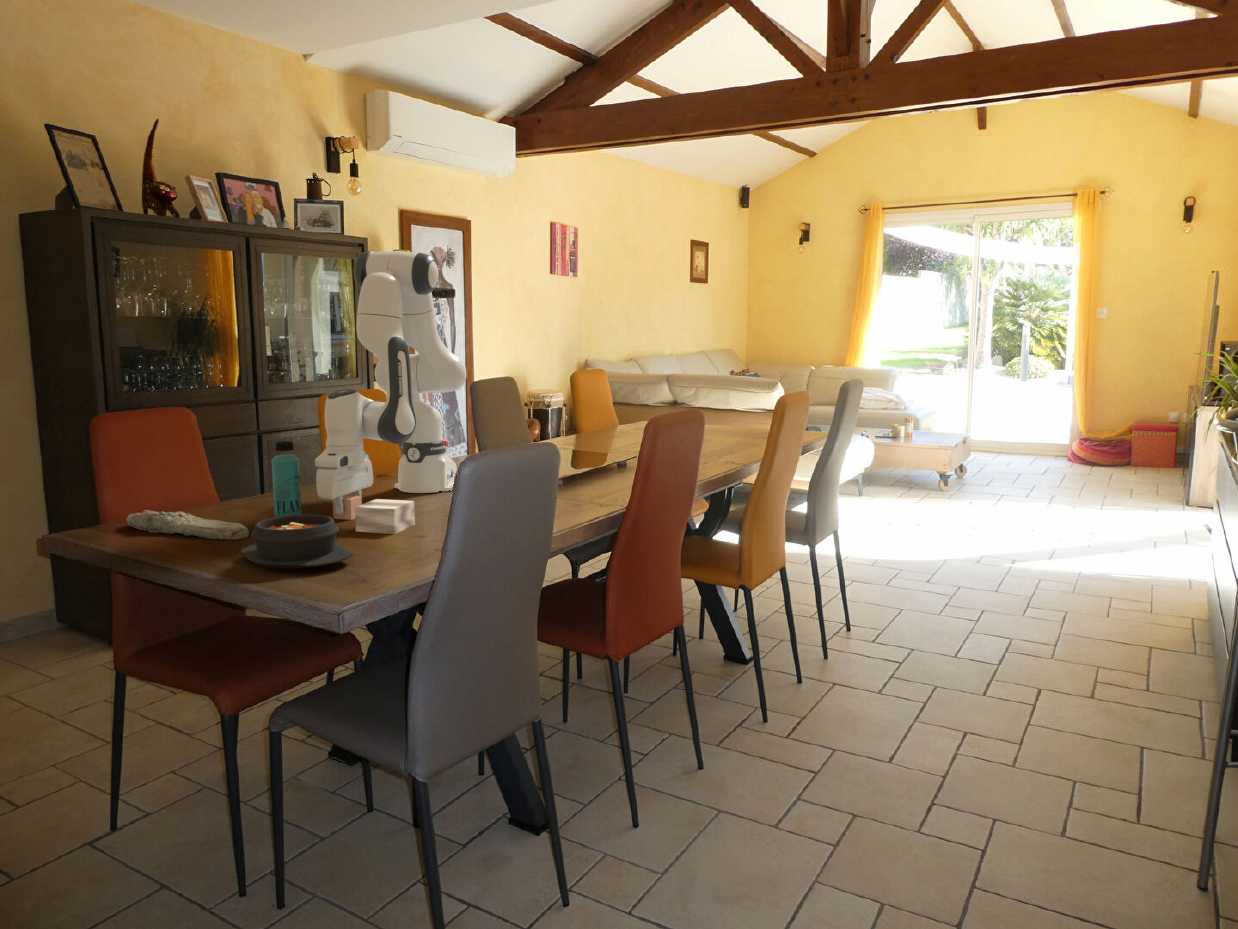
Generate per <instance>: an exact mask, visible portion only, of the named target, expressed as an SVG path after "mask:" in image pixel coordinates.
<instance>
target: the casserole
mask: <svg viewBox="0 0 1238 929" xmlns="http://www.w3.org/2000/svg"><path fill="white" fill-rule="evenodd" d="M339 531H340V527H339V526H337V524H336V522H335V519H334V518H333V517H331V516H327V515H322V514H314V513H313V514H311V513H310V514H308V513H306V514H304V513H302V514H298V515H286V516H279V517H275V516H274V517H273V516H272V517H271V518H266V519H262V520H260V521H258V522H257V523H256V524H255V525H254V529H253V531H252V532H251V533H250V538H252V539H253V540H254V543H255V544H252V545H249V546H245V547H243V548H242V549H241V550H240V553H241V554H243V555H244V556H246V558H247V560H249V561H250V562H253V563H255V564H259V565H264V566H267V567H271V568H276V569H277V568H278V569H300V568H309V567H310V568H312V567H313V568H315V567H316V568H317V567H321V566H327V565H333V564H336V563H340V562H343V561H345V560H348V559H350V558H352V557H353V556H354V552H353V551H350V550H348V549H346V548H345V547H343V545H341V544H339V543H336V539H337V534H338V532H339Z"/></svg>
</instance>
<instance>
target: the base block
mask: <svg viewBox="0 0 1238 929" xmlns="http://www.w3.org/2000/svg"><path fill="white" fill-rule="evenodd" d="M415 510H416V508H415V501H414V500H402V499H385V498H384V499H382V498H381V499H380V498H375V499H373V500H370V501H368V502H365V503H362V505H359V506H356V507H355V519H354V522H355V532H358V533H359V532H361V533H373V534H374V533H375V534H386V535H387V534H391V535H395V534H397V533H400V532H403V531H404V530H406V529H409V528H410V527H412V526H413V527H414V526H415V525H416V520H415V519H416V514H415Z"/></svg>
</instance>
